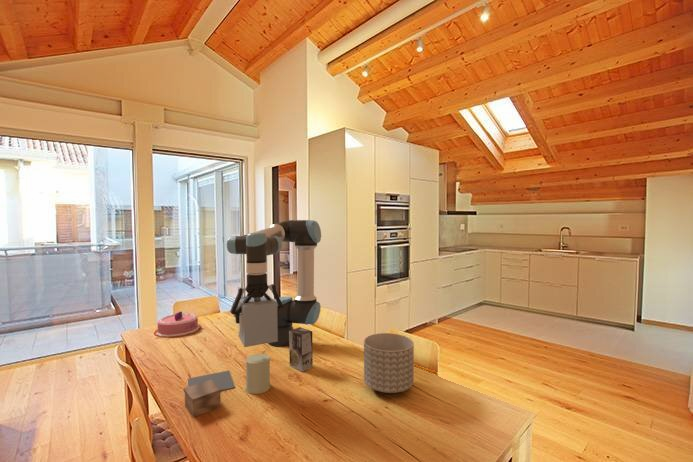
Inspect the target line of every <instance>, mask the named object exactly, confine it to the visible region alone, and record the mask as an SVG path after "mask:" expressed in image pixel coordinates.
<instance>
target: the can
mask: <svg viewBox="0 0 693 462" xmlns="http://www.w3.org/2000/svg"><path fill="white" fill-rule="evenodd" d="M270 362H271V356H269V355H268V354H266V353H255V354H252V355H249V356H247V357H246V358H245V391H246V392H247V393H249V394H251V395H258V394H262V393H266V392H267V391H268V390H269V389H270V388H271V381H270V380H271V379H270V375H271V373H270V371H271V369H270V365H271V363H270Z"/></svg>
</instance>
